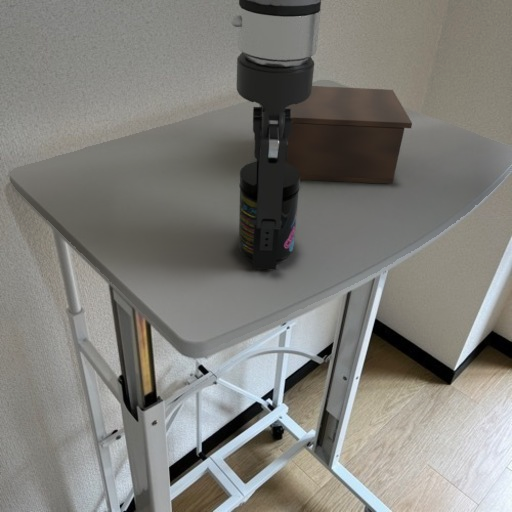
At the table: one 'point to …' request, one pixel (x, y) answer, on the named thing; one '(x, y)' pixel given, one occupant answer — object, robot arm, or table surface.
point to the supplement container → (250, 210)
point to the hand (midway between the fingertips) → (263, 248)
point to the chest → (344, 152)
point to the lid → (351, 108)
